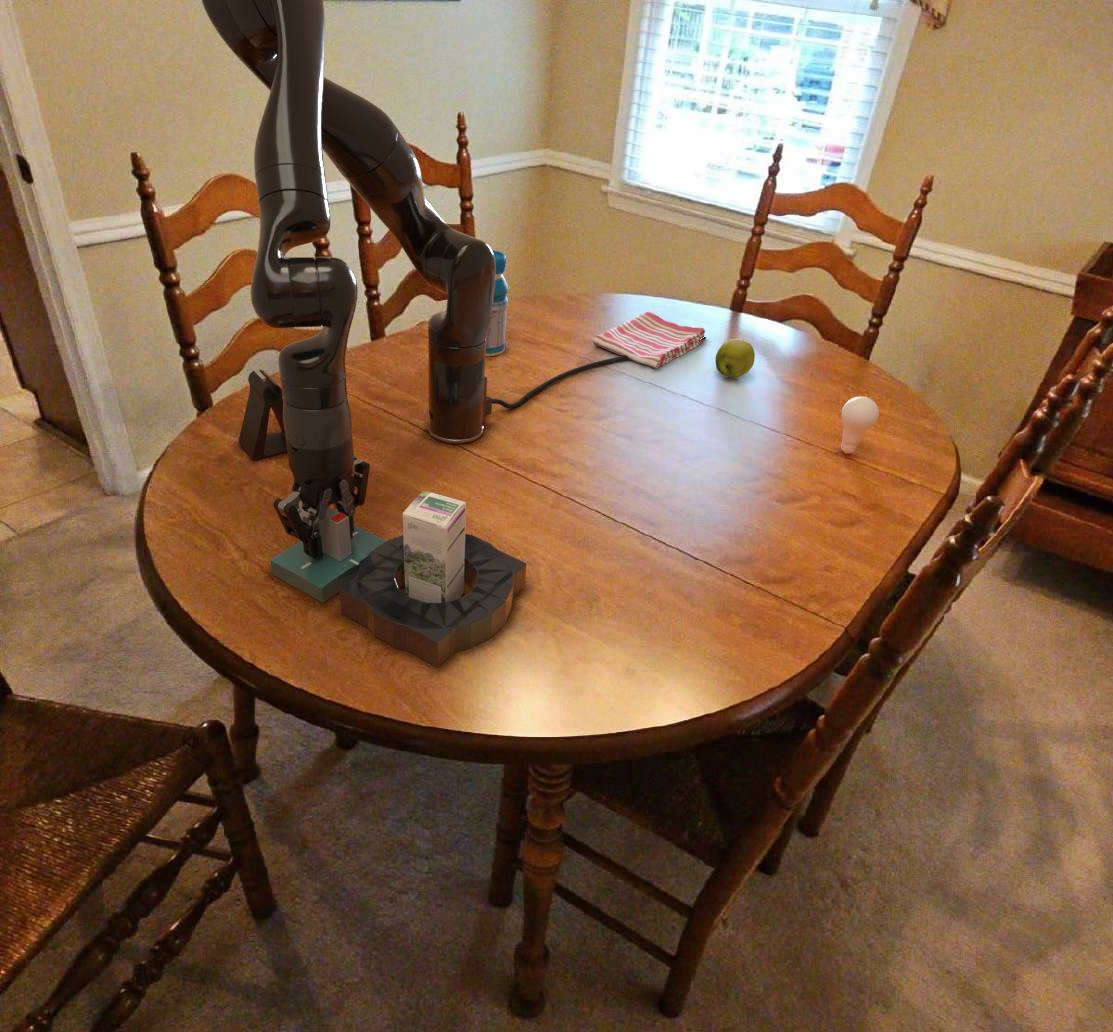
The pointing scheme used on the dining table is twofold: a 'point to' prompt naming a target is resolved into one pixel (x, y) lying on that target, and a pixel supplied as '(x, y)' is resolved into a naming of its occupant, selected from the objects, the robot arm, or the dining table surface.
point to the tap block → (323, 566)
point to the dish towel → (650, 339)
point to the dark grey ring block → (433, 624)
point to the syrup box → (434, 548)
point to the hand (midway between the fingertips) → (330, 546)
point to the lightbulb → (857, 421)
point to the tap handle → (335, 534)
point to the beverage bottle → (498, 310)
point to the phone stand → (262, 419)
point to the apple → (735, 358)
